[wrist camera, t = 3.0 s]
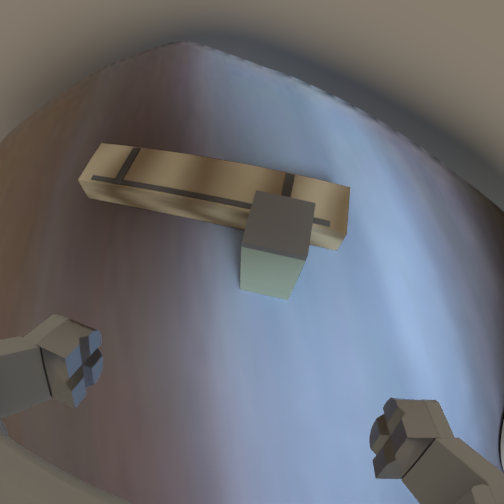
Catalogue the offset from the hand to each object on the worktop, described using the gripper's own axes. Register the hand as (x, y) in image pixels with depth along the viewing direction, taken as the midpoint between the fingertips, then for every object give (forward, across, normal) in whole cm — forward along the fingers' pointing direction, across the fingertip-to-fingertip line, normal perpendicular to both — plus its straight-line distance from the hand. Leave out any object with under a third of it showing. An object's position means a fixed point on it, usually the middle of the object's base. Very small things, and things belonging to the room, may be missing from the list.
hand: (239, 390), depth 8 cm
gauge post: (+19, 0, +4) cm, 19 cm away
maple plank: (+23, +7, 0) cm, 24 cm away
